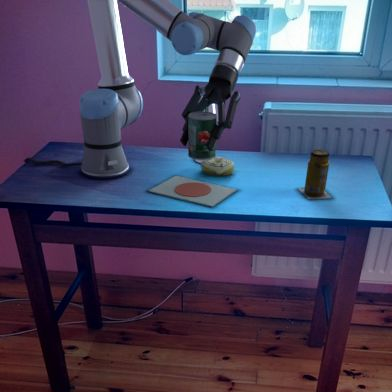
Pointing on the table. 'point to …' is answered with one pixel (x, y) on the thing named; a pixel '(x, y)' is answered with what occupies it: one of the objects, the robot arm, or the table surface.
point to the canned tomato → (200, 135)
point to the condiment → (316, 175)
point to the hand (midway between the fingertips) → (195, 145)
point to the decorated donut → (217, 166)
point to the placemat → (193, 191)
